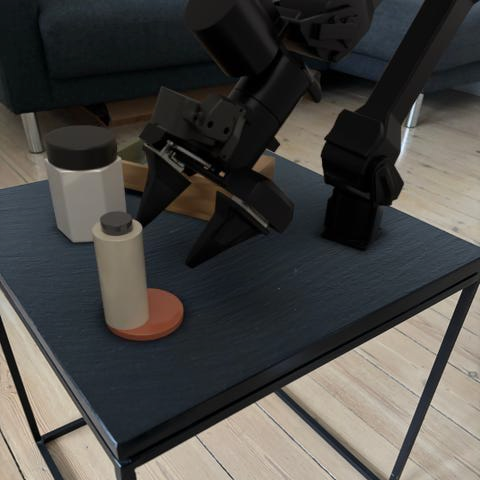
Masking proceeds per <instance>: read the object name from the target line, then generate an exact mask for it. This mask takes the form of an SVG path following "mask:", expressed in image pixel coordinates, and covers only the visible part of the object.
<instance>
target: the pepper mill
mask: <svg viewBox="0 0 480 480" xmlns="http://www.w3.org/2000/svg"><path fill="white" fill-rule="evenodd" d="M92 235H93V241H94V242H93V248H94V255H95V261H96V268H97V273H98V274H97V275H98V281H99V287H100V294H101V302H102V307H103V314H104V315H103V316H104V321H105V324H106V323H107V324H108V325H109V326H110V327H112V328H115V329H118V330H131V329H136V328H138V327H140V326H142V325H144V324H145V323H146V322H147V320H148V319H149V305H148V292H147V288H148V281H147V269H146V268H147V267H146V257H145V256H146V255H145V245H144V244H145V243H144V230H143V228H142V225H141V224H140V223H139V222H138V221H136V220H135V219H134V218H133V216H132V214H130V213H128V212H127V213H126V212H121V211H114V212H109V213H106V214H104V215H102V216H101V218H100V222H98V223H96V224H95V225H94V226H93V228H92ZM107 324H106V325H107Z"/></svg>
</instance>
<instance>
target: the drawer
mask: <svg viewBox="0 0 480 480" xmlns="http://www.w3.org/2000/svg"><path fill="white" fill-rule="evenodd" d="M142 145H145V146H146V147H148V148H149V146H148V145H147V144H146V143H144V142H143V141H142V140H141V139H140V138H139V135H138V136H136V137H134V138H132V139H129V140H128V141H126V142H124V143H122V144H120V145H119V146H117V156H119V157H120V158H121V160H122V170H123V180H124V189H130V190H133V191H138V192H141V193H143V191H144V188H145V184H146V179H147V174H148V164H147V160H146V155H145V153H144V152H143V151H142Z"/></svg>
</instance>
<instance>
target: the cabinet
mask: <svg viewBox="0 0 480 480" xmlns="http://www.w3.org/2000/svg"><path fill="white" fill-rule="evenodd" d="M275 167H276V156H271V155H266V154H262V156H261V157H260V158H259V160H258V161H257V163H256V164H255V165H254V167H253V168H252V169H253V170H254V171H256V172H258V173H260V174H262V175H264V176H266V177H267V178H269V179H271V180H272V181H273V182H274V177H275ZM204 168H206V167H205V166H204ZM206 169H207V170H208V168H206ZM182 175H183V176H184V177H185V178H187V179H188V180H189V181H190V182H191V183H192V184H191V185H190V186H189V187H188V188H187V189H186V190H185V191H184V192H183V193H181V194H180V195H179V196H178V197H177V198H176V199H175V200H174V201H173V202H172V203H171V204H170V205H169V206H168V207H167V208H166V209H165V210H164V211H168V212H172V213H175V214H176V213H177V214H180V215H182V216H183V215H184V216H187V217H192V218H195V219H200V220H203V221H208V222H209V220H210V219H211V217H212V216H213V214H214V211H215V200H216V191H217V190H218V191H219V192H221V193H223V194H224V195H226V196H228V197H229V198H232V196H233V195H232V194H230V193H229V192H228V191H226V190H225V189H223V188H221V187H220V186H218V185H216V184H215V183H213V182H211V181H210V180H208V179H206V178H205V177H203V176H202V175H200V174H198V173H197V174H195V175H193V176H190V177H188V176H187V175H185V174H184V173H182ZM219 175H221V176H222V177H223V176H224V175H225V174H224V173H223V172H220V174H219Z"/></svg>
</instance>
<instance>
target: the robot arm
mask: <svg viewBox="0 0 480 480" xmlns="http://www.w3.org/2000/svg"><path fill="white" fill-rule="evenodd" d="M382 2H384V0H188V1H187V3H186V7H185V9H184V12H183V22H184V25H185V27H186V28H187V29H188V31H189V32H190V33H191V34H192V36H193V37H194V38H195V40H197V42H198V43H199V44H200V45H201V46H202V48H203V49H204V50H205V51H206V53H207V54H208V55H209V56H210V57H211V59H212V60H213V61H214V62H215V64H216V65H217V66H218V68H220V70H221V71H222V72H223V73H224V74H225V75H226V76H227V77H229V78H231V79H233V78H234V79H239V80H238V81H237V82H236V84H235V85H234V87H233V88H232V89H231V91H230V93H229V94H228V96H225V95H222V94H220V93H217V94H216V95H213V94H211V93H209V94H207V95H206V96H205V97H204V99H203V100H202V101H199V100H196V99H195V98H191V97H189V96H187V95H185V94H182V93H181V92H180V93H179V92H177V91H174V90H172V89H170V88H167V87H165V86H162V85H161V86H160V90H159V93H158V96H157V100H156V102H155V106H154V109H153V112H152V116H151V119H150V121H148V122H147V123H146V125H145V126H144V128H143V129H142V131H141V132H140V134H139V135H138V137H139V138H140V139H141V140H142V141H143V142H144V144H145V145H142V151H143V152H144V153H145V159H146V163H147V164H148V174H147V179H146V184H145V188H144V191H143V192H142V194H141V198H140V202H139V205H138V208H137V212H136V216H135V219H134V220H136V221H138V222H139V223H140V224H141V225H142V229H144V228H146V227H147V226H148V225H150V224H151V223H152V222H153V221H154V220H155V219H157V218H158V217H159V216H160V215H161V214H162V213H163V212H165V211H166V210H165V209H166V208H167V207H168V206H169V205H170V204H171V203H172V202H173V201H174V200H175V199H176V198H177V197H178V196H179V195H180V194H181V193H183V192H184V191H185V190H186V189H187V188H188V187H189V186H190V185H191V184H192V183H191V182H190V181H189V180H188V179H187V178H185V177H184V176H183V175H182V173H184V174H185V175H187V176H188V177H190V176H193V175H195V174H197V173H198V174H200V175H202V176H203V177H205V178H206V179H208V180H210V181H211V182H213V183H215V184H216V185H218V186H220V187H221V188H223V189H225V190H226V191H228V192H229V193H230V194H232V195H233V196H232V198H229V197H228V196H226V195H224V194H223V193H221V192H219V191H218V190H217V191H216V200H215V211H214V214H213V216H212V217H211V219H210V220H209V221H208V222H207V223H206V225H205V226H204V228H203V230H202V231H201V232H200V234H199V236H198V237H197V239H196V240H195V242H194V243H193V245H192V247H191V248H190V250H189V252H188V253H187V256H186V258H185V260H184V262H183V264H184V265H185V266H186V267H188V268H189V269H190V270H193V269H195V268H197V267H199V266H201V265H203V264H205V263H206V262H208V261H210V260H211V259H213V258H215V257H217V256H218V255H220V254H222V253H224V252H226V251H227V250H229V249H231V248H233V247H235V246H237V245H239V244H241V243H244V242H246V241H248V240H250V239H252V238H255V237H257V236H259V235H263V236H265V237H267V236H269V235H270V231H269V229H271V230H273V231H275V232H276V233H278V234H280V235H283V233H284V232H285V231H286V229H287V228H288V227H289V225H290V224H291V222H292V221H293V219H294V211H295V204H294V203H293V201H292V200H291V199H290V198H289V197H288V196H287V195H286V194H285V193H284V192H283V190H281V189H280V187H279V186H278V185H277V184H276V183H275V182H274V180H273V181H272V180H271V179H269V178H267V177H266V176H264V175H262V174H260V173H258V172H256V171H254V170H253V169H252V168H253V167H254V165H255V164H256V163H257V161H258V160H259V158H260V157H261V156H262V155H264V153H265V151H266V150H267V151H270V152H272V153H276V152H277V150H278V149H279V148H280V146H281V143H280V142H279V140H278V139H277V138H276V136H277V135H278V133H279V132H280V130H281V129H282V128H283V126H284V124H285V123H286V122H287V121H288V119H289V118H290V116H291V115H292V114H293V112H294V110H296V108H297V106H298V105H299V104H300V102H301V101H302V100H307V101H309V102H312V103H314V104H319V103H320V102H321V101H322V93H323V92H322V87H321V76H322V74H321V72H320V71H318V70H315V69H311V68H309V67H308V66H307V64H306V62H305V61H304V59H303V58H302V56H301V55H303V56H306V57H310V58H312V59H317V60H320V61H323V62H326V63H332V64H338V63H340V62H341V61H343V60H344V59H346V58H347V57H348V56H349V55H350V54H351V53H352V52H353V50H354V49H355V48H356V46H357V45H358V44H359V43H360V42H361V41H362V39H363V38H364V37H365V35H366V34H367V33H368V32H369V31H370V29H371V27H372V22H373V18H374V14H375V11H376V10H377V8H378V7H379V6H380V5H381V4H382ZM478 2H480V0H423V2H422V4H421V6H420V7H419V9H418V11H417V12H416V14H415V16H414V17H413V20H412V21H411V23H410V25H409V27H408V29H406V31H405V34H404V35H403V37H402V39H401V41H400V42H399V44H398V46H397V48H396V49H395V50H394V52H393V54H392V56H391V58H390V59H389V61H388V63H387V65H386V67H385V68H384V70H383V72H382V73H381V75H380V77H379V79H378V80H377V82H376V84H375V86H374V88H373V89H372V90H371V93H370V95H369V96H368V98H367V100H366V101H365V102H364V104H363V105H361V106H360V107H358V108H356V109H355V110H350V109H347V108H343V109H342V110H341V111H340V112H339V113H338V114H337V116H336V119H335V121H334V123H333V125H332V127H331V129H330V130H329V131H328V133H327V134H325V136H324V137H323V141H325V142H324V144H323V146H322V149H321V152H320V160H321V168H322V174H323V182H324V184H325V185H327V186H331V187H333V189H332V193H331V195H330V196H329V197H328V198H327V202H326V208H325V213H324V220H323V226H324V228H323V229H322V230H321V231H320V236H321V237H323V238H326V239H329V240H332V241H335V242H338V243H341V244H344V245H347V246H349V247H353V248H356V249H358V250H361V251H366V250H367V249H368V248H370V246H371V245H372V244H373V243H374V242H375V241H376V240H377V239H378V238H379V237H380V236H381V235H382V234H383V231H384V229H383V228H382V227H381V224H382V219H383V214H384V211H385V207H391V206H392V205H393V202H394V201H396V200H398V199H399V197H400V195H401V193H402V190H403V188H404V186H405V181H404V180H403V178H402V176H401V174H400V173H399V171H398V169H397V167H396V163H397V161H398V159H399V157H400V154H401V153H402V152H401V151H402V126H403V124H404V122H405V120H406V118H407V117H408V116H409V114H410V112H411V110H412V108H413V107H414V105H415V103H416V102H417V100H418V98H419V97H420V95H421V93H422V92H423V90H424V88H425V86H426V85H427V83H428V82H429V80H430V78H431V77H432V74H433V73H434V72H435V70H436V68H437V67H438V65H439V63H440V61H441V60H442V59H443V56H444V55H445V53H446V51H447V50H448V48H449V47H450V45H451V43H452V41H453V40H454V38H455V36H456V34H457V33H458V31H459V29H460V27H461V26H462V24H463V23H464V21H465V19H466V18H467V16H468V14H469V13H470V11H471V9H472V8H473V7H474V5H476V4H478ZM147 145H148V146H149V148H148V147H147ZM204 166H205V167H206V168H208V170H207V169H206V168H204ZM220 172H223V173H224V174H225V175H224V176H223V177H222V176H221V175H219V174H220ZM268 227H269V229H267V228H268Z"/></svg>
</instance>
